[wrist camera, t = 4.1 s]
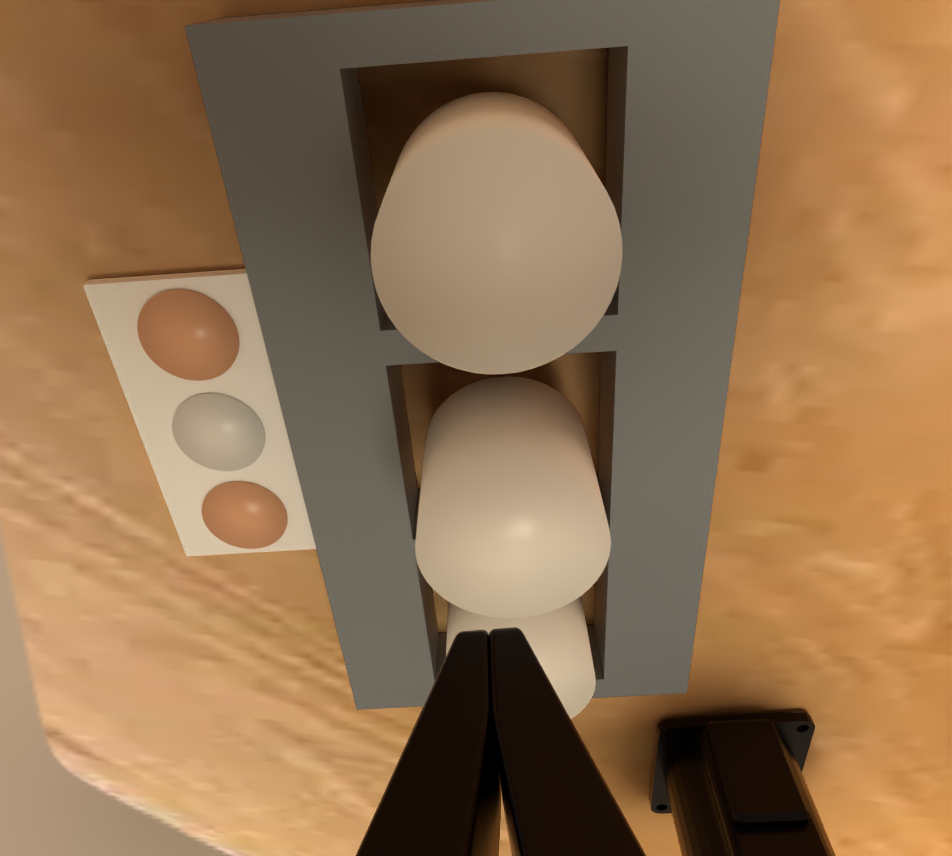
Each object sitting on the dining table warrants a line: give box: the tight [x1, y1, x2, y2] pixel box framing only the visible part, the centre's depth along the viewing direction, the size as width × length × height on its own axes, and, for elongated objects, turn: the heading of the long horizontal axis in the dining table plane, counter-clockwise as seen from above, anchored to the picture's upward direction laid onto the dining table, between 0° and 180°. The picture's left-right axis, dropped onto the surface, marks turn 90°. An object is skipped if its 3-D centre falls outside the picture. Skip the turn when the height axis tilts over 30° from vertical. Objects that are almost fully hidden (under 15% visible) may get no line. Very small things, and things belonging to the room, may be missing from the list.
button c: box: [371, 92, 623, 374], centre depth 15 cm, size 5×5×4 cm
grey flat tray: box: [185, 0, 780, 710], centre depth 21 cm, size 22×12×2 cm, turn 4°
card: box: [83, 269, 316, 556], centre depth 23 cm, size 10×5×1 cm, turn 4°
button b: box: [415, 376, 611, 618], centre depth 19 cm, size 5×5×4 cm
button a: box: [446, 596, 596, 719], centre depth 24 cm, size 5×5×4 cm
